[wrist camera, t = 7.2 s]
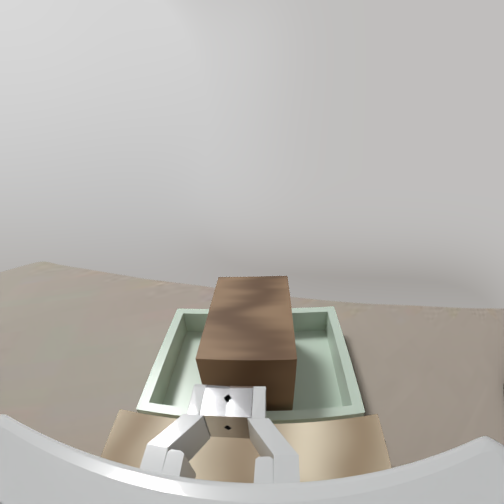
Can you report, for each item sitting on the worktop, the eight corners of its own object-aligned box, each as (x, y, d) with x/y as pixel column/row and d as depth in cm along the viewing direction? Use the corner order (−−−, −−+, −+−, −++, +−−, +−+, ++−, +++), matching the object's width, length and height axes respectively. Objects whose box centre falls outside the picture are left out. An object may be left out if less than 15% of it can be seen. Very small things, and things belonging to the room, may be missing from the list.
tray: (148, 429, 18) (136, 409, 17) (182, 330, 30) (177, 308, 29) (355, 432, 17) (365, 412, 16) (330, 329, 29) (333, 306, 28)
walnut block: (195, 358, 16) (218, 277, 25) (212, 419, 19) (226, 337, 28) (297, 359, 16) (287, 276, 25) (291, 420, 19) (286, 336, 28)
